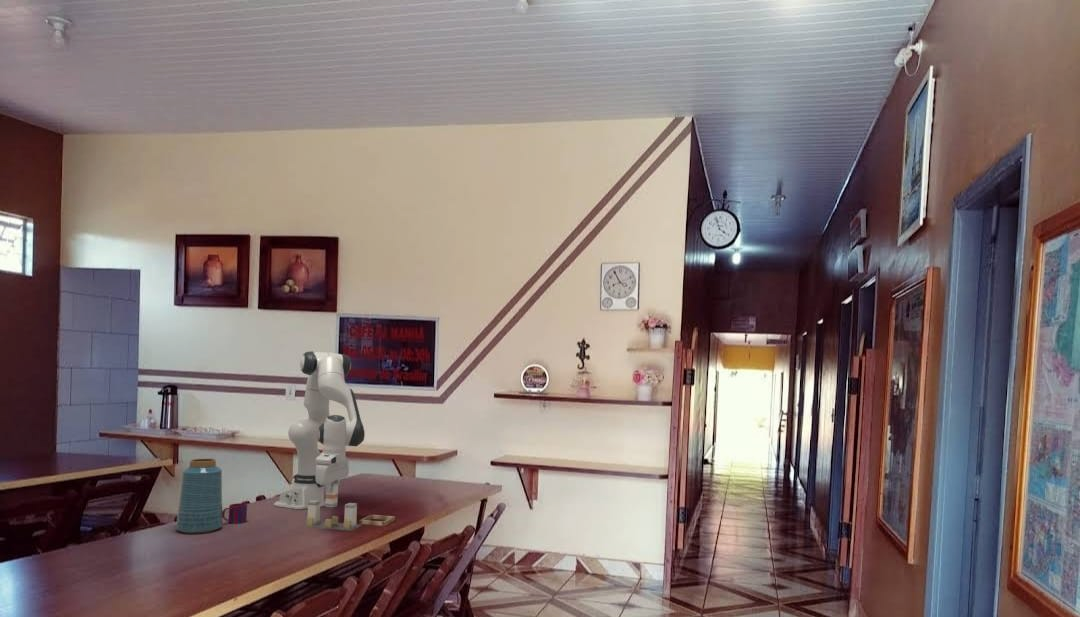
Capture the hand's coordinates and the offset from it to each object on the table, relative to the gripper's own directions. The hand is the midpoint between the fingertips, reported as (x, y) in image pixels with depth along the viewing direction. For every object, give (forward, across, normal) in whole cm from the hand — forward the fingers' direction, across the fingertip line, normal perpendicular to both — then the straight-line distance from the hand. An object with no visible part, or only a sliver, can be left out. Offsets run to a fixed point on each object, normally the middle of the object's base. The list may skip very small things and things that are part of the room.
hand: (331, 491), depth 289 cm
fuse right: (+13, 0, +9) cm, 16 cm away
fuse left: (+13, 0, -7) cm, 15 cm away
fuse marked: (+6, 0, 0) cm, 6 cm away
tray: (+14, -12, +15) cm, 24 cm away
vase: (+15, +17, -46) cm, 52 cm away
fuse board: (+14, 0, +1) cm, 14 cm away
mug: (+15, +3, -41) cm, 44 cm away
